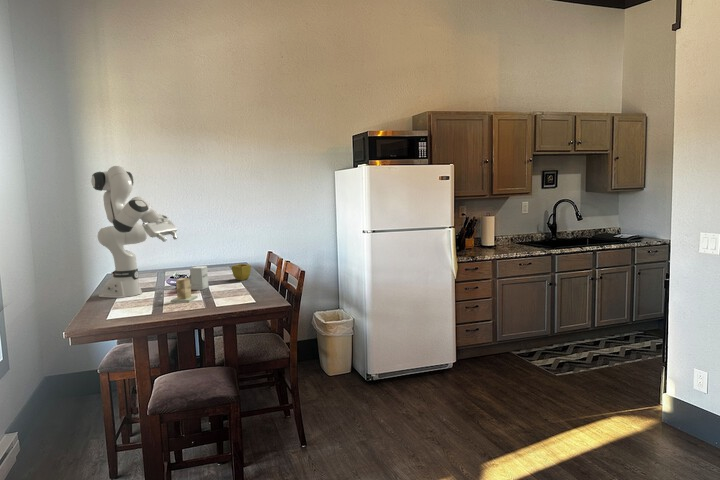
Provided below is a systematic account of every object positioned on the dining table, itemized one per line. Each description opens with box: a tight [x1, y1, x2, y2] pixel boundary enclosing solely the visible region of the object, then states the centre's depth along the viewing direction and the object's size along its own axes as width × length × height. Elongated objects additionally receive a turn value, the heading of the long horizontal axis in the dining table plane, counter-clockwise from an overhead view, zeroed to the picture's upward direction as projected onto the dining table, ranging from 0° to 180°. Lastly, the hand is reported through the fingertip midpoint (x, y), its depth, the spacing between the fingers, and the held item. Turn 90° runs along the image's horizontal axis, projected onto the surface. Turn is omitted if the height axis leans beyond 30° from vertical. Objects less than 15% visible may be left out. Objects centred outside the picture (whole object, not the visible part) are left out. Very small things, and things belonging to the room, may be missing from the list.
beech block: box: [175, 277, 192, 299], centre depth 283 cm, size 5×5×10 cm
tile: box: [170, 295, 198, 303], centre depth 284 cm, size 10×10×1 cm
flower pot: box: [231, 263, 252, 281], centre depth 335 cm, size 9×9×9 cm
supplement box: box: [189, 265, 209, 291], centre depth 312 cm, size 7×7×13 cm
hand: (170, 239), depth 286 cm, fingers open, 8 cm apart
